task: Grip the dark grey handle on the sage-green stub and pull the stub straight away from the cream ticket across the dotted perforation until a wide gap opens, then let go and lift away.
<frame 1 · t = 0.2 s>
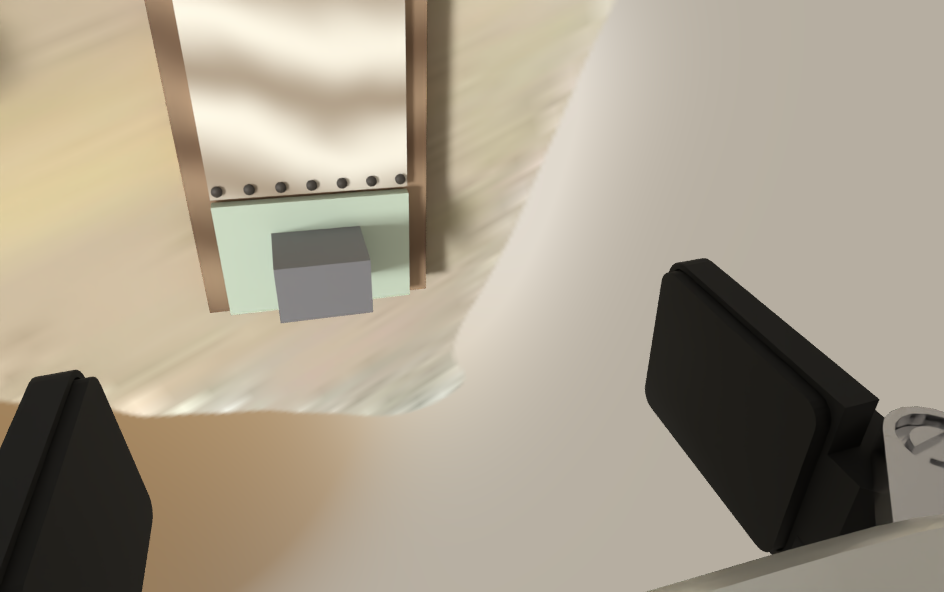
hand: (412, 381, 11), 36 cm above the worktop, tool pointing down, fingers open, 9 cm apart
stub: (321, 269, 44), point 5 cm above the worktop, slide at 0.0 cm
ticket board: (305, 137, 44), on the worktop
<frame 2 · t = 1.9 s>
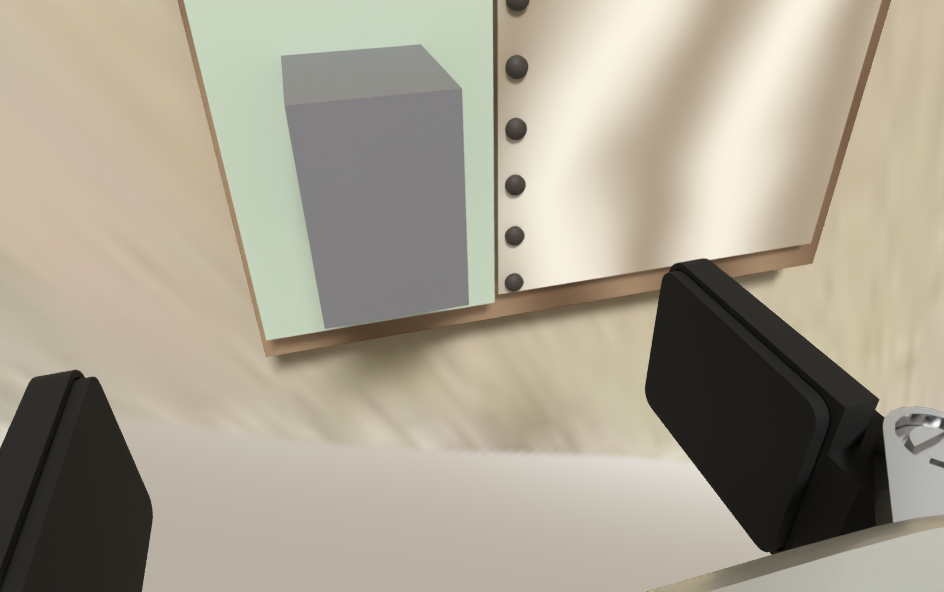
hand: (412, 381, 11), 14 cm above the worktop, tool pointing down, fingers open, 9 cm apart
stub: (373, 175, 19), point 5 cm above the worktop, slide at 0.0 cm
ticket board: (554, 99, 24), on the worktop
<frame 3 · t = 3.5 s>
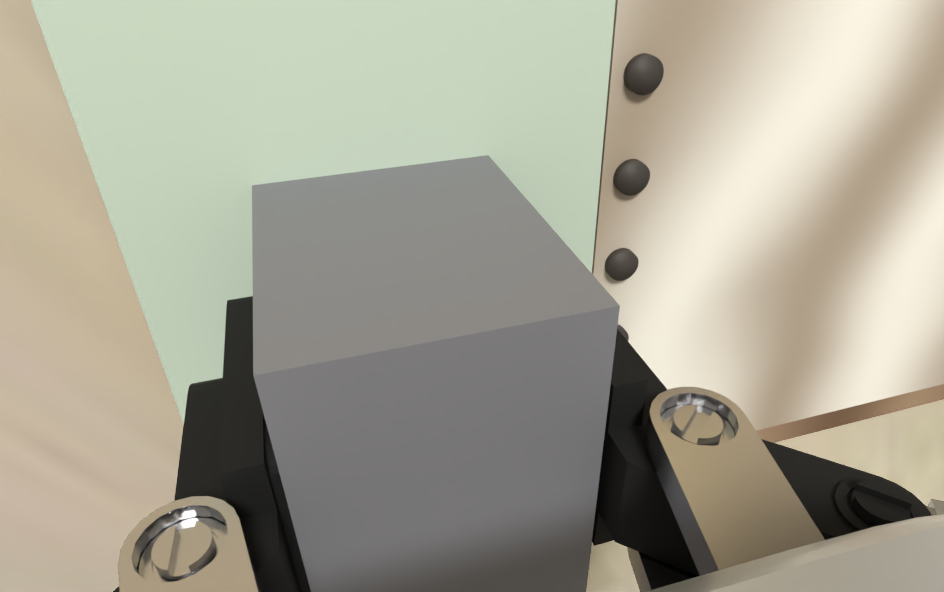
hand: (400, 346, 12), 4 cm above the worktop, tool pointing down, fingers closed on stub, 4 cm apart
stub: (413, 384, 11), point 5 cm above the worktop, slide at 0.0 cm, touching gripper
ticket board: (657, 199, 17), on the worktop
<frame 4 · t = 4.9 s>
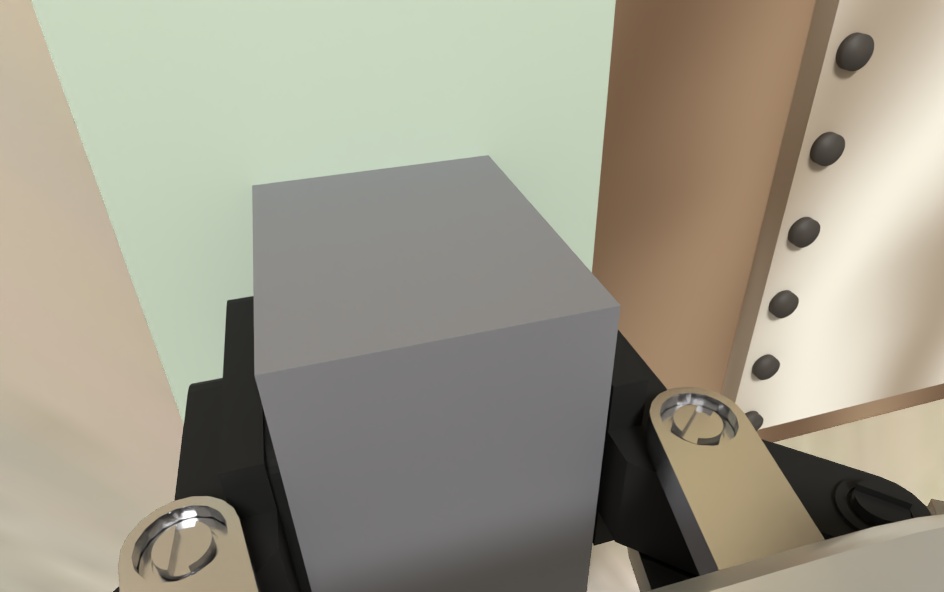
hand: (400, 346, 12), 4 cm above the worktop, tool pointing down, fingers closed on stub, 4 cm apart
stub: (413, 384, 11), point 5 cm above the worktop, slide at 4.7 cm, touching gripper
ticket board: (810, 176, 18), on the worktop
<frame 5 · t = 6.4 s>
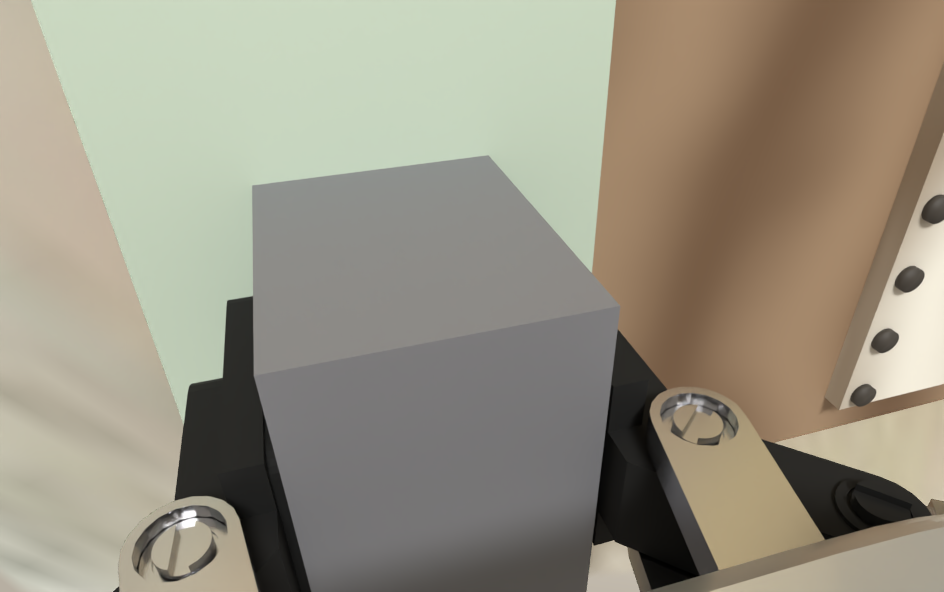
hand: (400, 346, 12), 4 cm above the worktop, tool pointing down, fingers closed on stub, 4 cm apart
stub: (413, 384, 11), point 5 cm above the worktop, slide at 8.5 cm, touching gripper
ticket board: (923, 159, 19), on the worktop
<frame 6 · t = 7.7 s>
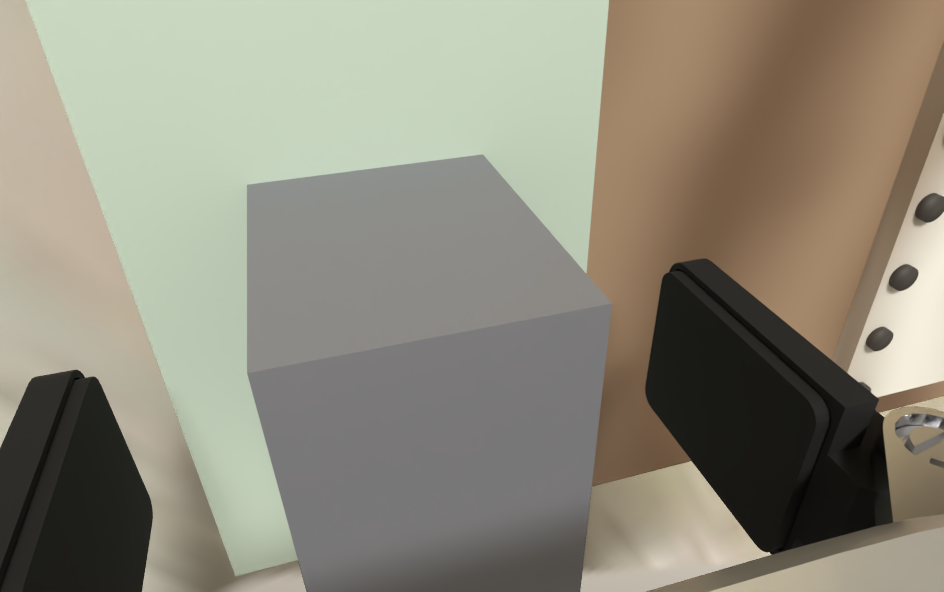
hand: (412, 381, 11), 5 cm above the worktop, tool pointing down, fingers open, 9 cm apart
stub: (408, 382, 11), point 5 cm above the worktop, slide at 8.5 cm
ticket board: (918, 158, 19), on the worktop
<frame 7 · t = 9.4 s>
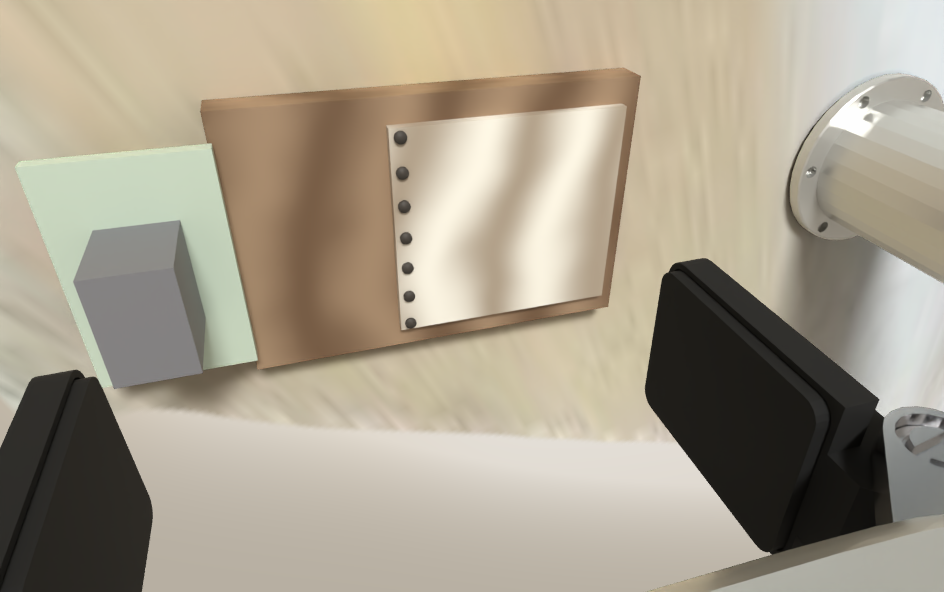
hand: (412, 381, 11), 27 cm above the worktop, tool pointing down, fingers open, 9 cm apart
stub: (148, 297, 32), point 5 cm above the worktop, slide at 8.5 cm
ticket board: (434, 213, 41), on the worktop
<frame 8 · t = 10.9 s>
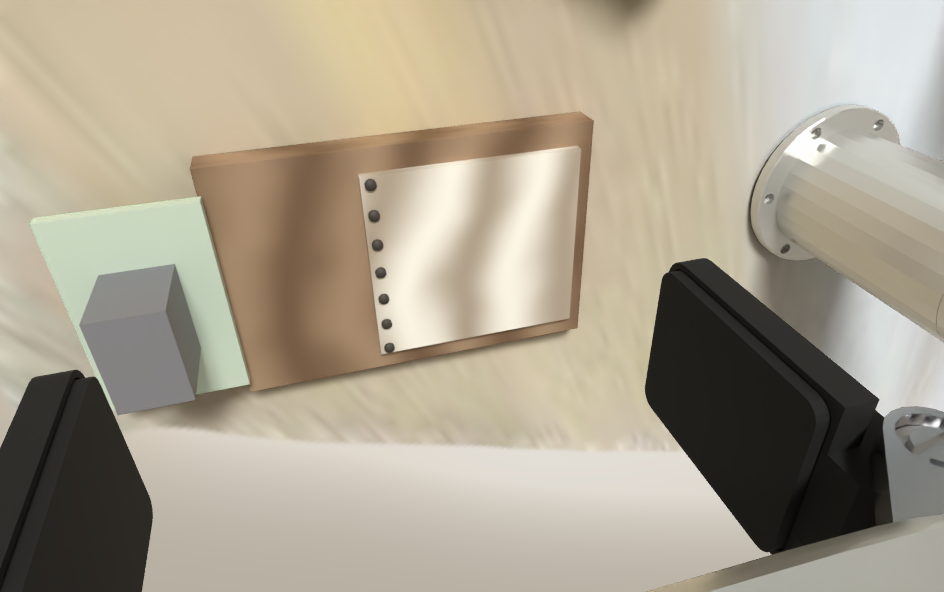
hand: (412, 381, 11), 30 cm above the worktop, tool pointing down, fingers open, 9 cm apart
stub: (147, 333, 36), point 5 cm above the worktop, slide at 8.5 cm
ticket board: (409, 247, 44), on the worktop
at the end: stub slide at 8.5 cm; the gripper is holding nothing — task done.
